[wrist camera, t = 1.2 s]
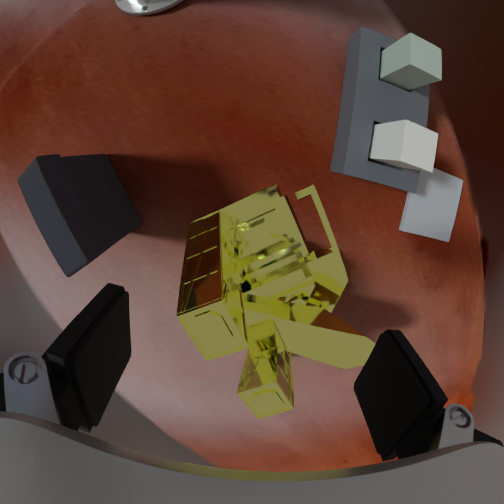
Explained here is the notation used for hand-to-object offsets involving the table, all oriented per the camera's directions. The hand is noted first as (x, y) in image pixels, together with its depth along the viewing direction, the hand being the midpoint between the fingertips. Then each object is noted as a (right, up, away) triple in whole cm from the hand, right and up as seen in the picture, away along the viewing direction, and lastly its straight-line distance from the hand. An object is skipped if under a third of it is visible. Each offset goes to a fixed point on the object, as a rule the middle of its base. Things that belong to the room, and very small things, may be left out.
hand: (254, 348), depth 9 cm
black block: (-18, +11, +24) cm, 32 cm away
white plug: (+15, +16, +20) cm, 30 cm away
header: (+16, +21, +20) cm, 34 cm away
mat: (+26, +10, +24) cm, 37 cm away
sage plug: (+17, +26, +17) cm, 35 cm away
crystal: (+4, 0, +28) cm, 28 cm away
